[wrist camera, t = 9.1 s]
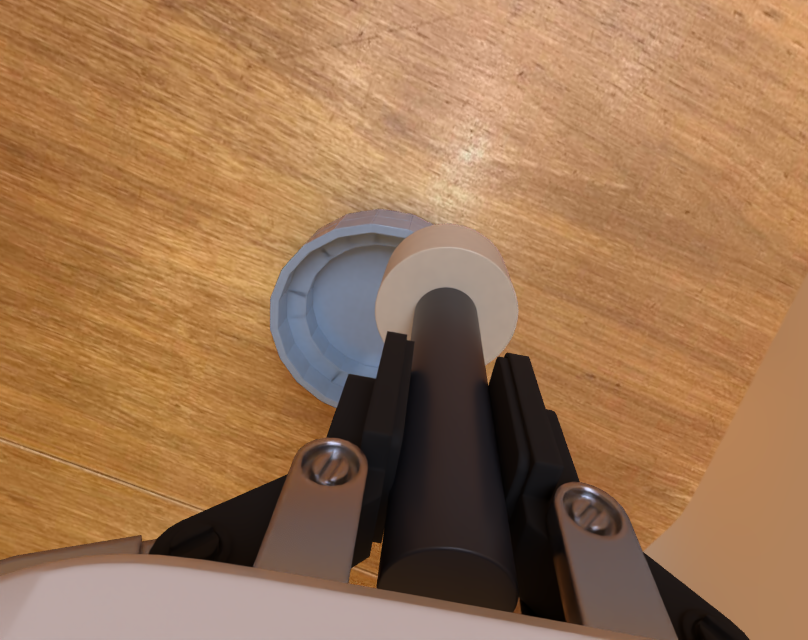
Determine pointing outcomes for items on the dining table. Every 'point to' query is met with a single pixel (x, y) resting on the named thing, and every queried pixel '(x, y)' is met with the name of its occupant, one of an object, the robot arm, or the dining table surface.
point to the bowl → (336, 300)
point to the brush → (449, 420)
